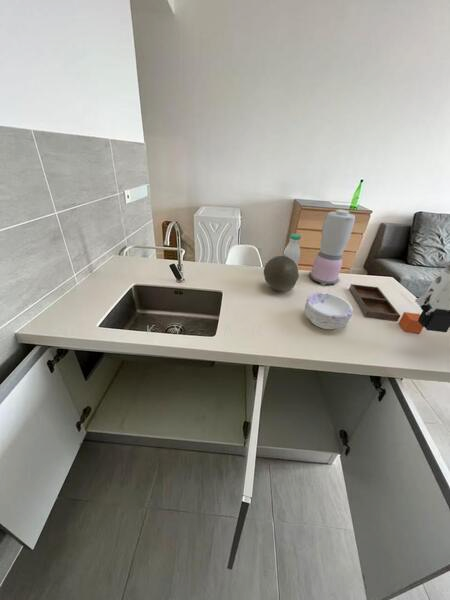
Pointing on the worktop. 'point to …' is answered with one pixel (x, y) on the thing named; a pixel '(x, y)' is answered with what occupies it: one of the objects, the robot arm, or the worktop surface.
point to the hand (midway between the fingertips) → (432, 324)
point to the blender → (332, 246)
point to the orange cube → (410, 323)
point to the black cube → (439, 321)
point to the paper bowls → (328, 310)
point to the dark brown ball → (281, 273)
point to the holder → (373, 302)
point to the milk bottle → (293, 248)
